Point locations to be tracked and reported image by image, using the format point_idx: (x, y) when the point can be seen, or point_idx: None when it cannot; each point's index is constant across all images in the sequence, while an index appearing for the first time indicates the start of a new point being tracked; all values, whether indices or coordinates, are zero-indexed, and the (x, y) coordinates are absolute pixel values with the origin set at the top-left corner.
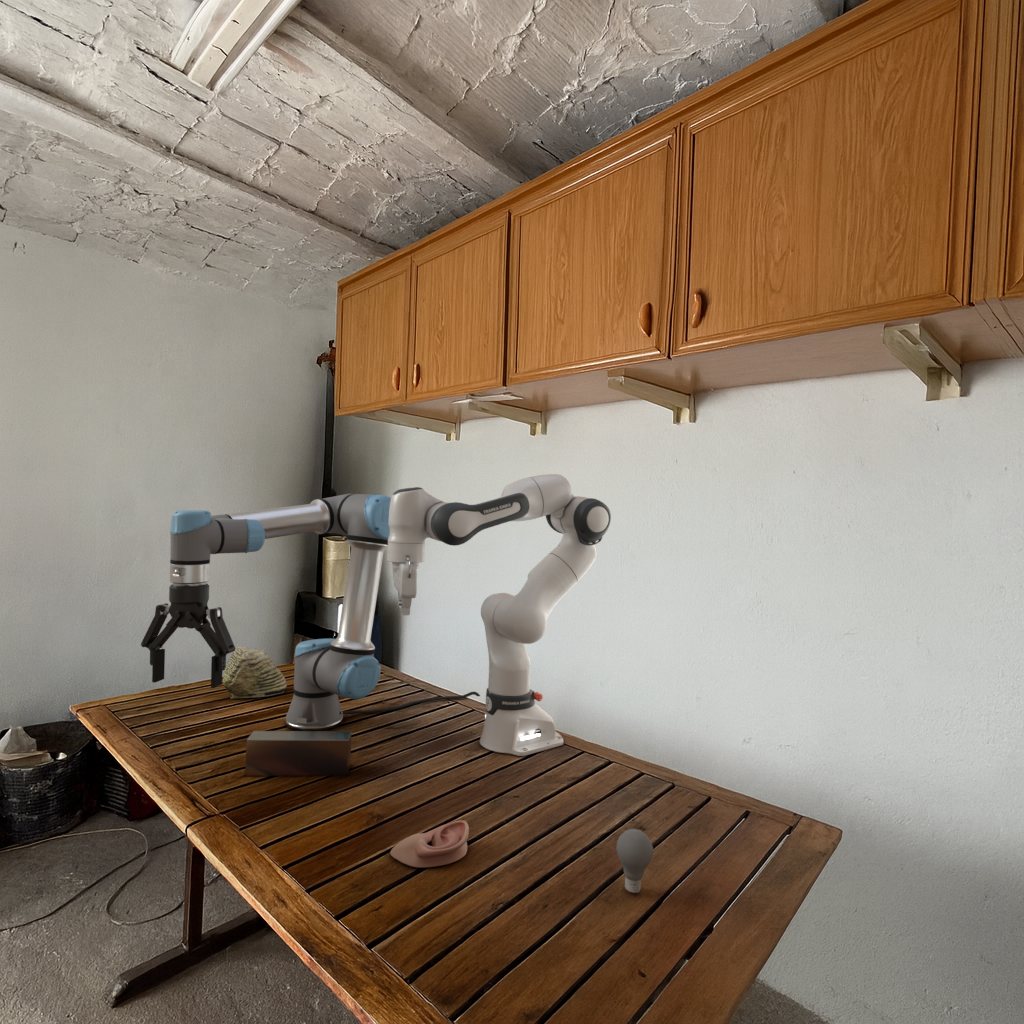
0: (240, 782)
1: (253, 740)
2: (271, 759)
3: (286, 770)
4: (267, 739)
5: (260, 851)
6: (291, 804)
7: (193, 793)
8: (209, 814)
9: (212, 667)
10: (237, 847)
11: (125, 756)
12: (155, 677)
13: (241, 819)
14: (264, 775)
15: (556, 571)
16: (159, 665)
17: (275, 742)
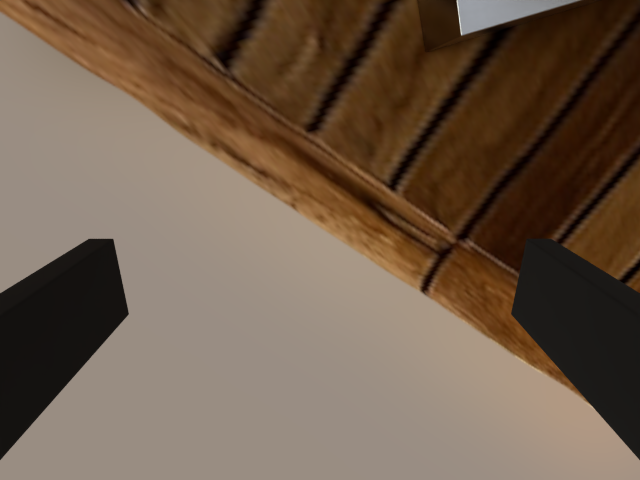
0: (431, 93)
1: (485, 28)
2: (518, 22)
3: (547, 15)
4: (536, 7)
5: None
6: (596, 169)
7: (353, 176)
8: (439, 248)
9: (609, 412)
10: None
11: (16, 16)
12: (112, 332)
13: (511, 251)
14: (478, 36)
15: None
16: (54, 346)
17: (562, 6)
